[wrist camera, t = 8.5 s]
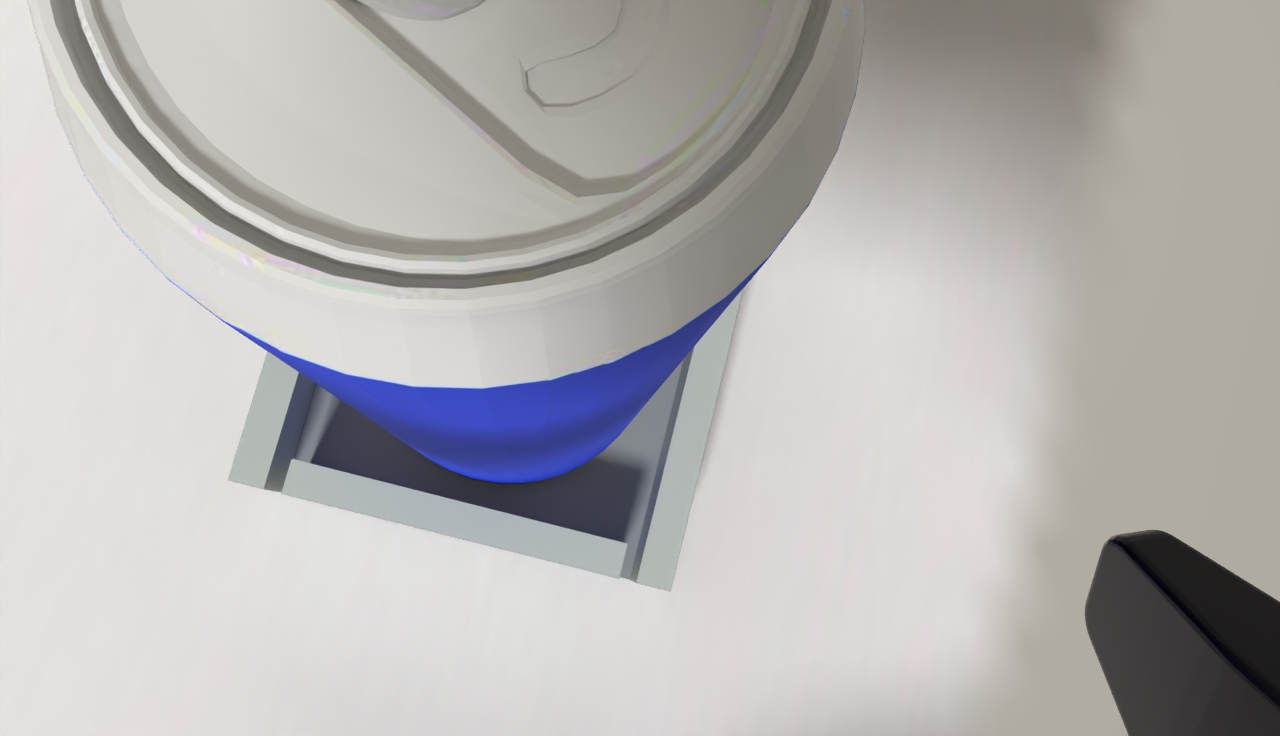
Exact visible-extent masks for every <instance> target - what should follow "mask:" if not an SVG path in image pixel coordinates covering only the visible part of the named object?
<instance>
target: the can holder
mask: <svg viewBox="0 0 1280 736" xmlns="http://www.w3.org/2000/svg"><path fill="white" fill-rule="evenodd" d="M742 292H743V289H742V290H741V291H740V293H739V294H738V295H737V296H736V297H735V299H734V300H733V301H732V302H731V303H730V305H729V306H728V307H727V308H726V309H725V311H724V312H723V313H722V314H721V315H720V316H719V318H718V319H717V320H716V321H715V322H714V324H713V325H712V326H711V327H710V328H709V330H708V331H707V332H706V333H705V334H704V335H703V337H702V338H701V339H700V340H699V341H698V343H697V344H696V345H695V346H694V347H693V349H692V350H691V351H690V352H689V353H688V355H687V356H686V357H685V358H684V359H683V360H682V362H681V363H680V364H679V365H678V366H677V368H676V369H675V370H674V371H673V372H672V374H671V375H670V376H669V377H668V378H667V379H666V381H665V382H664V383H663V384H662V385H661V387H660V388H659V389H658V390H657V391H656V393H655V394H654V395H653V396H652V397H651V399H650V400H649V401H648V402H647V403H646V404H645V406H644V407H643V408H642V409H641V410H640V412H639V413H638V414H637V415H636V416H635V418H634V419H633V420H632V421H631V422H630V423H629V425H628V426H627V427H626V428H625V429H624V431H623V432H622V433H621V434H620V435H619V436H618V437H617V438H616V439H615V440H614V441H613V442H612V443H611V444H610V445H609V446H608V447H607V448H606V449H605V450H604V451H603V452H601V453H600V454H598V455H597V456H595V457H594V458H592V459H591V460H590V461H588V462H587V463H585V464H584V465H581V466H579V467H577V468H575V469H573V470H571V471H569V472H567V473H565V474H562V475H559V476H556V477H552V478H549V479H546V480H542V481H536V482H528V483H521V484H505V483H492V482H486V481H480V480H475V479H471V478H468V477H465V476H463V475H460V474H457V473H454V472H451V471H449V470H448V469H446V468H444V467H442V466H440V465H438V464H436V463H434V462H433V461H431V460H429V459H428V458H426V457H425V456H423V455H422V454H420V453H419V452H417V451H416V450H414V449H413V448H411V447H410V446H408V445H407V444H405V443H404V442H403V441H401V440H400V439H398V438H397V437H395V436H394V435H392V434H391V433H389V432H388V431H386V430H385V429H383V428H382V427H380V426H379V425H377V424H376V423H374V422H373V421H371V420H370V419H368V418H367V417H365V416H364V415H362V414H361V413H359V412H358V411H356V410H355V409H353V408H352V407H350V406H349V405H347V404H346V403H344V402H343V401H341V400H340V399H338V398H337V397H335V396H334V395H332V394H331V393H329V392H328V391H326V390H325V389H323V388H322V387H320V386H319V385H317V384H316V383H314V382H313V381H311V380H310V379H308V378H307V377H305V376H304V375H302V374H301V373H299V372H298V371H296V370H295V369H293V368H292V367H290V366H289V365H287V364H286V363H284V362H283V361H281V360H280V359H278V358H277V357H276V356H274V355H273V354H271V353H270V352H268V351H267V355H266V358H265V361H264V364H263V368H262V371H261V374H260V377H259V381H258V384H257V387H256V390H255V394H254V397H253V400H252V403H251V407H250V410H249V413H248V416H247V419H246V423H245V426H244V429H243V432H242V436H241V439H240V442H239V445H238V449H237V452H236V455H235V458H234V462H233V465H232V468H231V471H230V474H229V478H228V480H229V481H233V482H237V483H241V484H245V485H249V486H253V487H256V488H260V489H265V490H272V491H278V492H281V494H284V495H288V496H292V497H296V498H300V499H304V500H308V501H312V502H316V503H320V504H324V505H328V506H332V507H336V508H340V509H344V510H348V511H352V512H356V513H360V514H364V515H368V516H372V517H376V518H380V519H384V520H388V521H392V522H396V523H400V524H404V525H408V526H412V527H416V528H420V529H424V530H428V531H431V532H435V533H439V534H443V535H447V536H451V537H455V538H459V539H463V540H467V541H471V542H475V543H479V544H483V545H487V546H491V547H495V548H499V549H503V550H507V551H511V552H515V553H519V554H523V555H527V556H531V557H535V558H539V559H543V560H547V561H551V562H555V563H559V564H563V565H567V566H571V567H575V568H579V569H583V570H587V571H591V572H595V573H599V574H603V575H606V576H610V577H614V578H618V579H619V577H622V578H626V579H630V580H632V581H633V582H635V583H638V584H642V585H646V586H650V587H654V588H658V589H662V590H666V591H670V592H671V588H672V584H673V579H674V575H675V571H676V567H677V563H678V559H679V554H680V550H681V546H682V542H683V538H684V534H685V529H686V525H687V521H688V517H689V513H690V509H691V504H692V500H693V496H694V492H695V488H696V484H697V479H698V475H699V471H700V467H701V463H702V459H703V454H704V450H705V446H706V442H707V438H708V434H709V429H710V425H711V421H712V417H713V413H714V409H715V404H716V400H717V396H718V392H719V388H720V384H721V379H722V375H723V371H724V367H725V363H726V359H727V354H728V350H729V346H730V342H731V338H732V334H733V329H734V325H735V321H736V317H737V313H738V309H739V304H740V300H741V296H742Z"/></svg>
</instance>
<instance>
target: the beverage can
mask: <svg viewBox="0 0 1280 736" xmlns="http://www.w3.org/2000/svg"><path fill="white" fill-rule="evenodd" d="M27 1H28V5H29V10H30V14H31V18H32V22H33V26H34V30H35V34H36V38H37V40H38V43H39V46H40V50H41V54H42V58H43V62H44V66H45V70H46V73H47V77H48V81H49V85H50V89H51V93H52V97H53V101H54V105H55V109H56V113H57V116H58V118H59V120H60V123H61V125H62V127H63V129H64V131H65V134H66V136H67V138H68V140H69V143H70V145H71V147H72V149H73V151H74V154H75V156H76V158H77V160H78V163H79V165H80V167H81V169H82V172H83V174H84V176H85V177H86V179H87V180H88V182H89V183H90V185H91V186H92V188H93V189H94V191H95V192H96V194H97V195H98V196H99V198H100V199H101V201H102V202H103V204H104V205H105V207H106V208H107V210H108V211H109V213H110V214H111V216H112V217H113V219H114V220H115V222H116V223H117V225H118V226H119V228H120V229H121V230H122V232H123V233H124V234H125V235H126V236H127V237H128V238H129V239H130V240H131V241H132V242H133V243H134V244H135V245H136V246H137V247H138V248H139V250H140V251H141V252H142V253H143V254H144V255H145V256H146V257H147V258H148V259H149V260H150V261H151V262H152V263H153V264H154V265H155V266H156V268H157V269H158V270H159V271H160V272H161V273H162V274H163V275H164V276H165V277H166V278H167V279H168V280H169V281H171V282H172V283H173V284H175V285H176V286H177V287H178V288H180V289H181V290H182V291H184V292H185V293H186V294H188V295H189V296H190V297H192V298H193V299H194V300H195V301H197V302H198V303H199V304H201V305H202V306H203V307H205V308H206V309H207V310H209V311H210V312H211V313H213V314H214V315H215V316H216V317H218V318H219V319H220V320H222V321H223V322H225V323H226V324H228V325H229V326H231V327H232V328H234V329H235V330H237V331H238V332H240V333H241V334H243V335H244V336H246V337H247V338H249V339H250V340H252V341H253V342H255V343H256V344H258V345H259V346H261V347H262V348H264V349H265V350H267V351H268V352H270V353H271V354H273V355H274V356H276V357H277V358H278V359H280V360H281V361H283V362H284V363H286V364H287V365H289V366H290V367H292V368H293V369H295V370H296V371H298V372H299V373H301V374H302V375H304V376H305V377H307V378H308V379H310V380H311V381H313V382H314V383H316V384H317V385H319V386H320V387H322V388H323V389H325V390H326V391H328V392H329V393H331V394H332V395H334V396H335V397H337V398H338V399H340V400H341V401H343V402H344V403H346V404H347V405H349V406H350V407H352V408H353V409H355V410H356V411H358V412H359V413H361V414H362V415H364V416H365V417H367V418H368V419H370V420H371V421H373V422H374V423H376V424H377V425H379V426H380V427H382V428H383V429H385V430H386V431H388V432H389V433H391V434H392V435H394V436H395V437H397V438H398V439H400V440H401V441H403V442H404V443H405V444H407V445H408V446H410V447H411V448H413V449H414V450H416V451H417V452H419V453H420V454H422V455H423V456H425V457H426V458H428V459H429V460H431V461H433V462H434V463H436V464H438V465H440V466H442V467H444V468H446V469H448V470H449V471H451V472H454V473H457V474H460V475H463V476H465V477H468V478H471V479H475V480H480V481H486V482H492V483H505V484H521V483H528V482H536V481H542V480H546V479H549V478H552V477H556V476H559V475H562V474H565V473H567V472H569V471H571V470H573V469H575V468H577V467H579V466H581V465H584V464H585V463H587V462H588V461H590V460H591V459H592V458H594V457H595V456H597V455H598V454H600V453H601V452H603V451H604V450H605V449H606V448H607V447H608V446H609V445H610V444H611V443H612V442H613V441H614V440H615V439H616V438H617V437H618V436H619V435H620V434H621V433H622V432H623V431H624V429H625V428H626V427H627V426H628V425H629V423H630V422H631V421H632V420H633V419H634V418H635V416H636V415H637V414H638V413H639V412H640V410H641V409H642V408H643V407H644V406H645V404H646V403H647V402H648V401H649V400H650V399H651V397H652V396H653V395H654V394H655V393H656V391H657V390H658V389H659V388H660V387H661V385H662V384H663V383H664V382H665V381H666V379H667V378H668V377H669V376H670V375H671V374H672V372H673V371H674V370H675V369H676V368H677V366H678V365H679V364H680V363H681V362H682V360H683V359H684V358H685V357H686V356H687V355H688V353H689V352H690V351H691V350H692V349H693V347H694V346H695V345H696V344H697V343H698V341H699V340H700V339H701V338H702V337H703V335H704V334H705V333H706V332H707V331H708V330H709V328H710V327H711V326H712V325H713V324H714V322H715V321H716V320H717V319H718V318H719V316H720V315H721V314H722V313H723V312H724V311H725V309H726V308H727V307H728V306H729V305H730V303H731V302H732V301H733V300H734V299H735V297H736V296H737V295H738V294H739V293H740V291H741V290H742V289H743V288H744V287H745V286H746V284H747V283H748V282H749V281H750V280H751V278H752V277H753V276H754V275H755V274H756V272H757V271H758V270H759V269H760V268H761V267H762V265H763V264H764V263H765V262H766V261H767V259H768V258H769V257H770V256H771V255H772V253H773V252H774V251H775V249H776V248H777V247H778V245H779V244H780V243H781V241H782V240H783V239H784V237H785V236H786V235H787V233H788V232H789V231H790V229H791V228H792V227H793V225H794V224H795V223H796V222H797V220H798V219H799V218H800V216H801V215H802V214H803V212H804V211H805V210H806V208H807V207H808V206H809V204H810V202H811V200H812V198H813V196H814V194H815V192H816V190H817V188H818V187H819V185H820V183H821V181H822V179H823V177H824V175H825V173H826V171H827V169H828V167H829V165H830V164H831V162H832V160H833V158H834V156H835V154H836V152H837V150H838V147H839V144H840V140H841V137H842V134H843V131H844V128H845V125H846V122H847V119H848V116H849V113H850V110H851V107H852V104H853V101H854V98H855V95H856V88H857V82H858V75H859V68H860V62H861V55H862V48H863V42H864V35H865V34H864V0H27Z"/></svg>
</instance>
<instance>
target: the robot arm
mask: <svg viewBox="0 0 1280 736" xmlns="http://www.w3.org/2000/svg"><path fill="white" fill-rule="evenodd" d="M1085 621H1086V627H1087V631H1088V634H1089V637H1090V640H1091V642H1092V645H1093V647H1094V650H1095V652H1096V655H1097V657H1098V660H1099V662H1100V665H1101V667H1102V670H1103V672H1104V675H1105V677H1106V680H1107V682H1108V685H1109V687H1110V690H1111V692H1112V695H1113V697H1114V700H1115V703H1116V705H1117V708H1118V710H1119V713H1120V715H1121V718H1122V720H1123V723H1124V725H1125V728H1126V730H1127V732H1128V735H1129V736H1280V602H1279V601H1277V600H1276V599H1274V598H1273V597H1271V596H1269V595H1268V594H1266V593H1264V592H1263V591H1261V590H1259V589H1258V588H1256V587H1255V586H1253V585H1252V584H1250V583H1248V582H1247V581H1245V580H1243V579H1242V578H1240V577H1239V576H1237V575H1235V574H1234V573H1232V572H1231V571H1229V570H1227V569H1226V568H1224V567H1222V566H1221V565H1219V564H1217V563H1216V562H1214V561H1213V560H1211V559H1209V558H1208V557H1206V556H1204V555H1203V554H1201V553H1200V552H1198V551H1197V550H1195V549H1193V548H1192V547H1190V546H1188V545H1187V544H1185V543H1184V542H1182V541H1180V540H1179V539H1177V538H1176V537H1174V536H1172V535H1170V534H1168V533H1166V532H1163V531H1159V530H1146V531H1140V532H1133V533H1126V534H1120V535H1115V536H1113V537H1111V538H1110V539H1109V540H1108V541H1107V542H1106V543H1105V544H1104V546H1103V548H1102V551H1101V555H1100V558H1099V561H1098V565H1097V567H1096V571H1095V574H1094V577H1093V581H1092V584H1091V588H1090V591H1089V594H1088V597H1087V600H1086V605H1085Z"/></svg>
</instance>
